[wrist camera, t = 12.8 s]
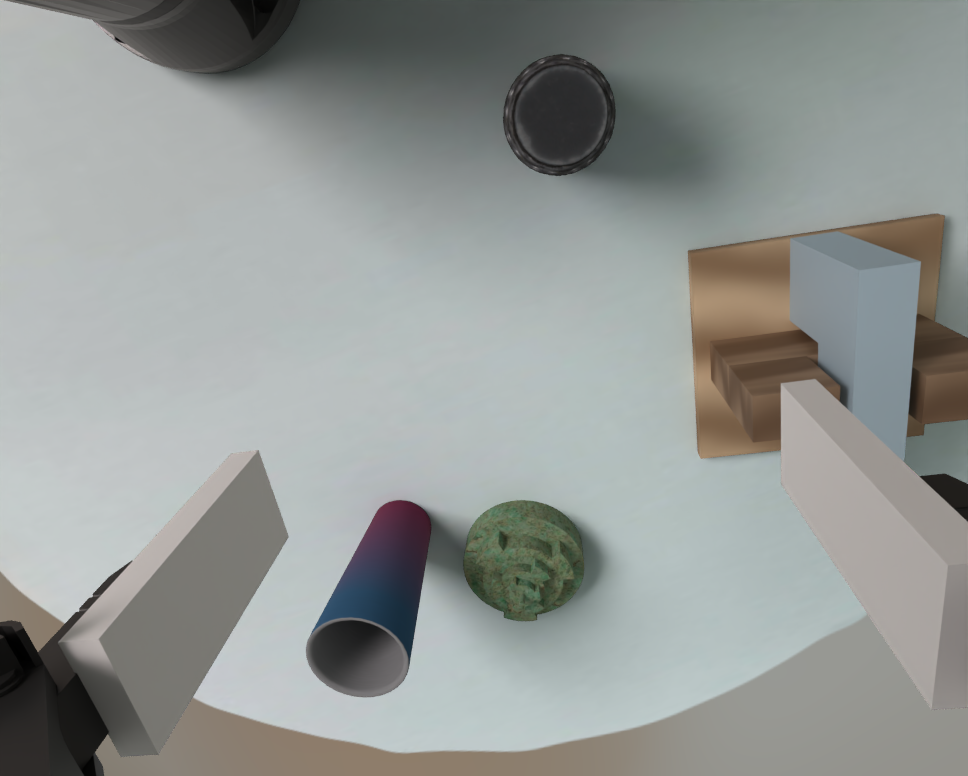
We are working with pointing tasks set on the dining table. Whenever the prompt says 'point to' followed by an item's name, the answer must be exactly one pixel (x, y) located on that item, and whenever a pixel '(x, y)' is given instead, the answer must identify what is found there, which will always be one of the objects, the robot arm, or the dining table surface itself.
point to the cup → (374, 606)
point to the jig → (802, 338)
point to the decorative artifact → (523, 559)
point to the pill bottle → (559, 115)
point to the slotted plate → (860, 324)
